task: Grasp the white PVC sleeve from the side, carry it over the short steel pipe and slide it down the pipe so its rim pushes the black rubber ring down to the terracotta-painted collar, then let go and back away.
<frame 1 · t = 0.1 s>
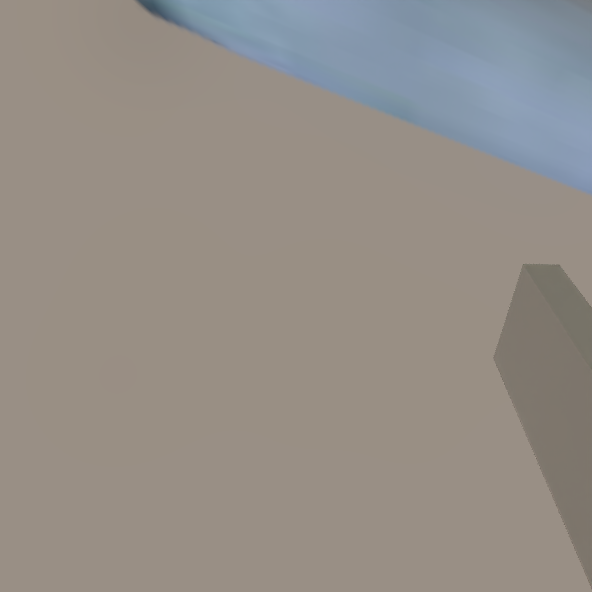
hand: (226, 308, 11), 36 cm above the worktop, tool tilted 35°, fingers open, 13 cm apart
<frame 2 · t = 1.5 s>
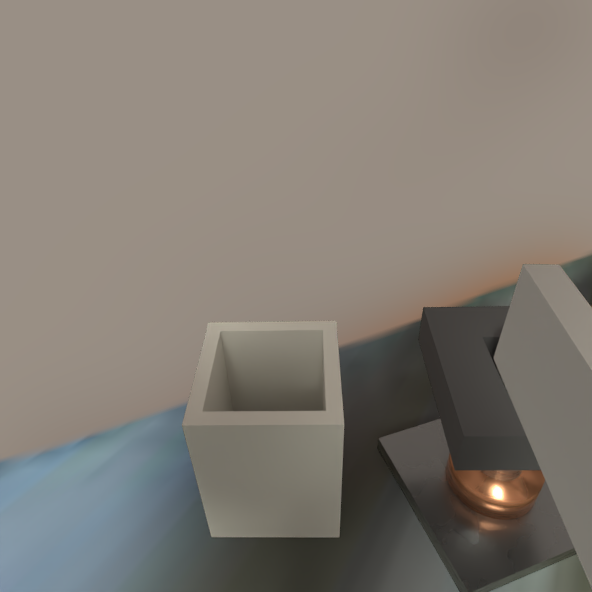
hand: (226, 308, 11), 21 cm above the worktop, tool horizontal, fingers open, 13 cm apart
sleeve: (278, 479, 31), on the worktop
pipe stand: (487, 487, 30), on the worktop
ring: (525, 378, 24), point 10 cm above the worktop, slide at 0.0 cm
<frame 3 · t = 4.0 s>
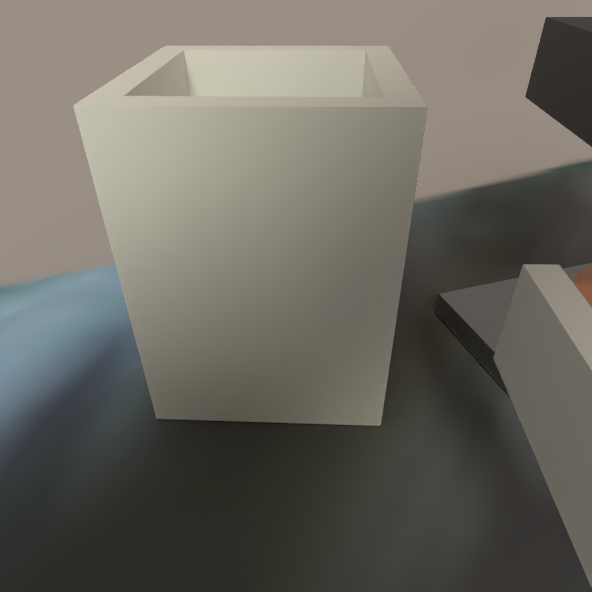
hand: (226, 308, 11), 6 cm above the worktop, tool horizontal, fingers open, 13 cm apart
sleeve: (276, 346, 19), on the worktop
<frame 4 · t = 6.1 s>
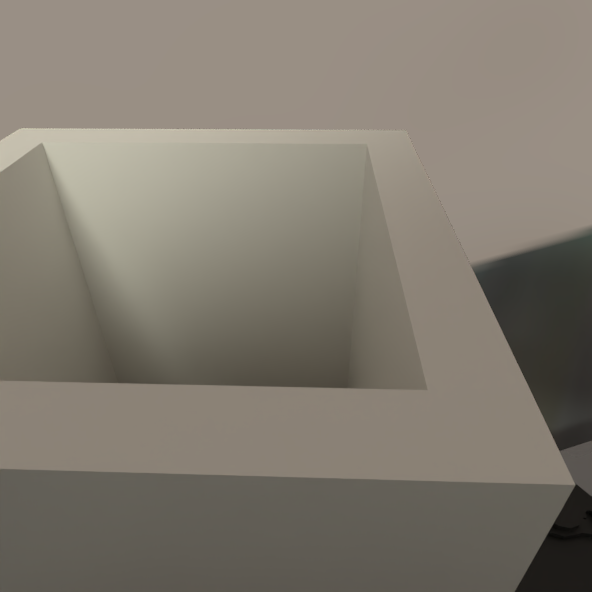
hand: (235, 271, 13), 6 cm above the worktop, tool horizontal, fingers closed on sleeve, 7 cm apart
sleeve: (228, 579, 12), on the worktop, touching gripper
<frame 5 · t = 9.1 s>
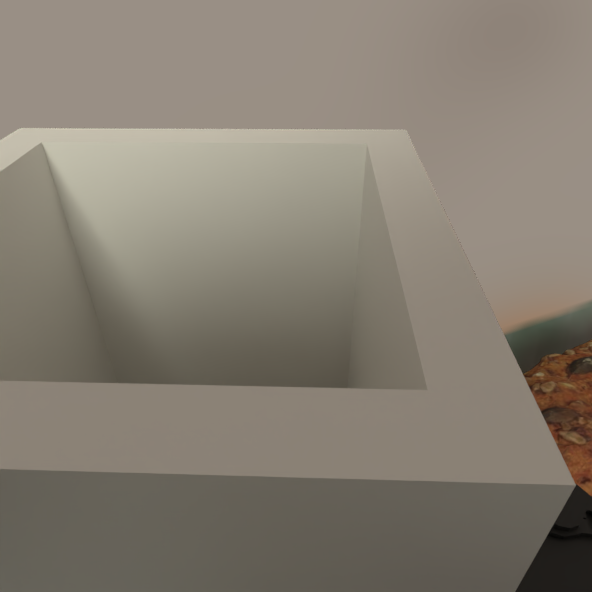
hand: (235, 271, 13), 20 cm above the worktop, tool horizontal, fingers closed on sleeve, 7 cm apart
sleeve: (228, 579, 12), point 14 cm above the worktop, touching gripper
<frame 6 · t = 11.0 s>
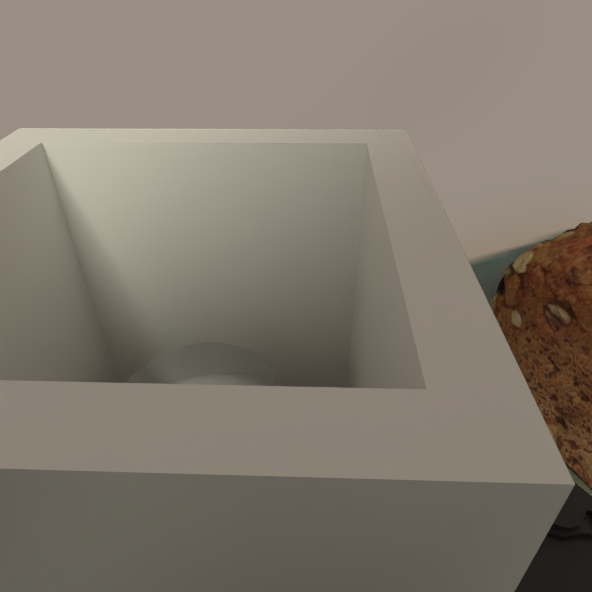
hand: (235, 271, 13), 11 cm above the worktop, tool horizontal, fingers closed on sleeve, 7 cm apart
sleeve: (228, 579, 12), point 5 cm above the worktop, touching gripper, ring
when the fingers open (11 cm above the worktop, at t = 12.0 s): sleeve stays where it is, point 5 cm above the worktop.
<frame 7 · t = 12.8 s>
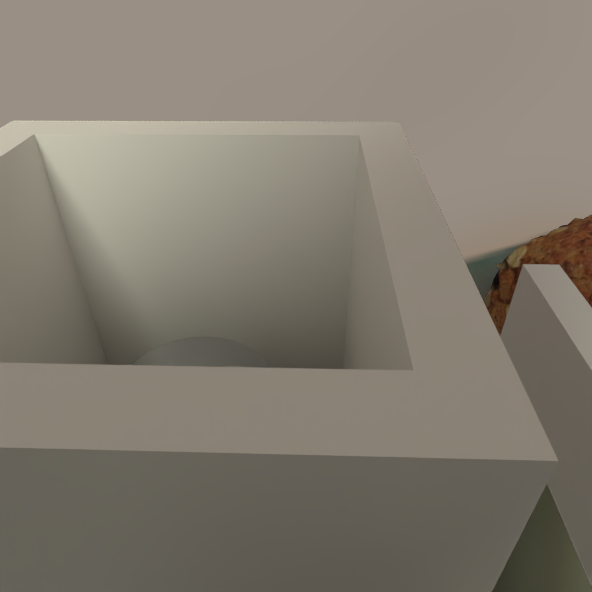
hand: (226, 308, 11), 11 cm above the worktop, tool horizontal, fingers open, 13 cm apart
sleeve: (223, 574, 12), point 5 cm above the worktop
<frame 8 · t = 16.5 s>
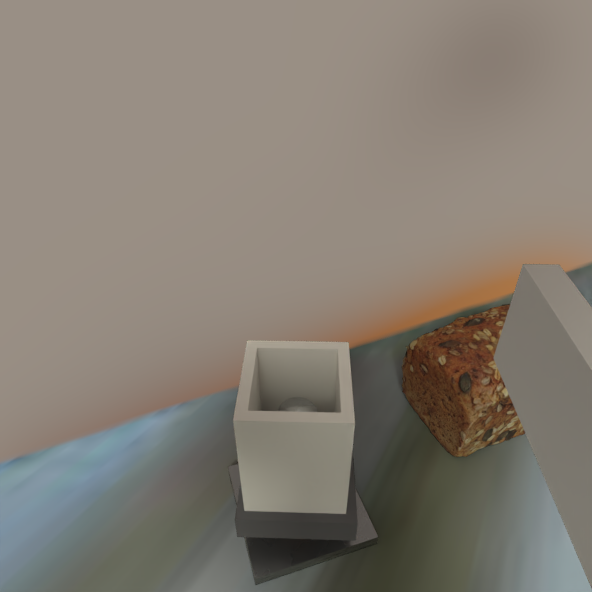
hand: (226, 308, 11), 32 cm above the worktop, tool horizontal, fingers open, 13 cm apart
bread: (495, 400, 51), on the worktop
sleeve: (296, 468, 38), point 5 cm above the worktop, touching ring
pipe stand: (298, 506, 41), on the worktop
ring: (298, 476, 39), point 4 cm above the worktop, slide at 5.4 cm, touching sleeve
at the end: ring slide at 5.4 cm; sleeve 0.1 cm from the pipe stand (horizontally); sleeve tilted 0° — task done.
